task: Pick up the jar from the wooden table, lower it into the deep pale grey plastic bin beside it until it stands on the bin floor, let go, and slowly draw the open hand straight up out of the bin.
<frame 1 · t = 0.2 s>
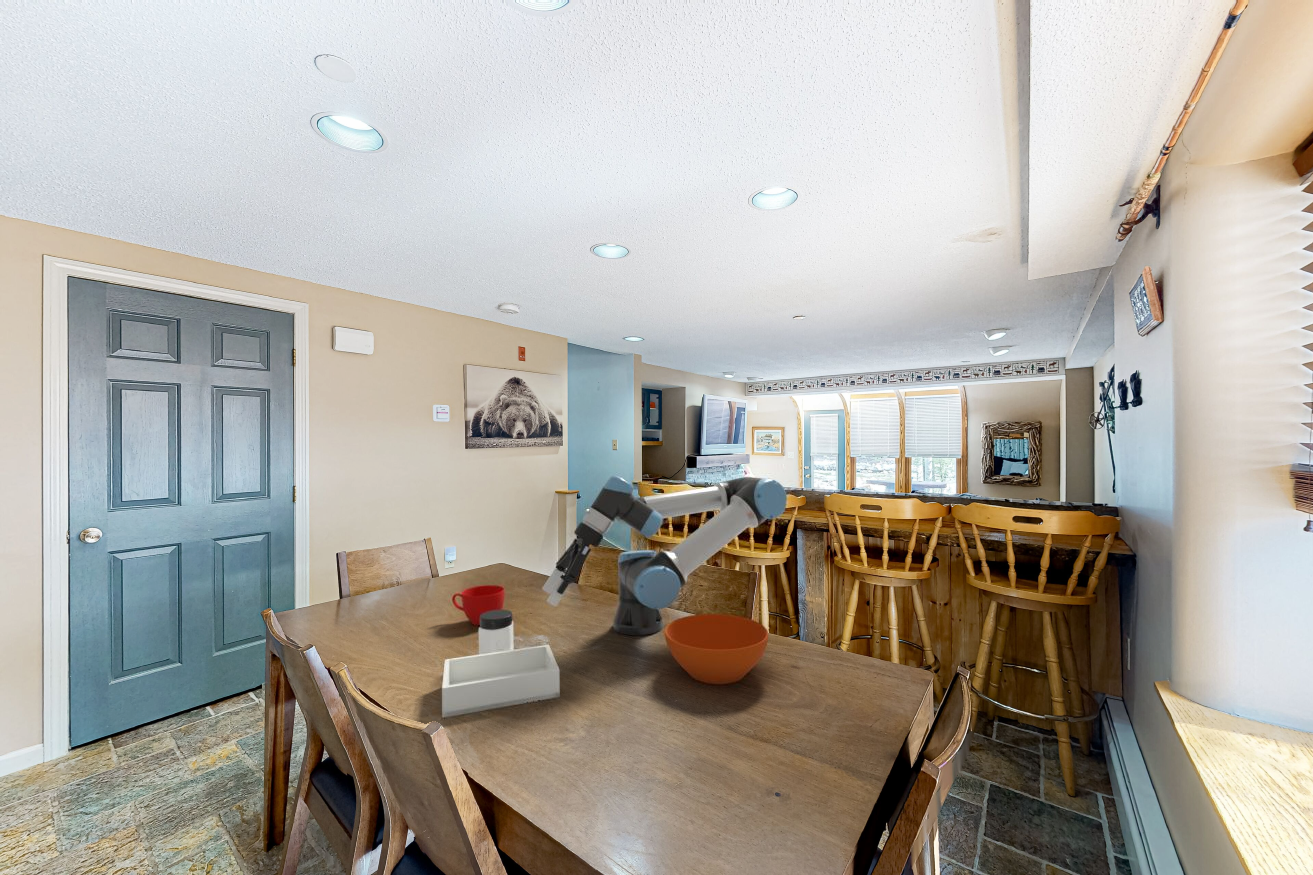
hand: (548, 597, 136), 16 cm above the table, tool tilted 35°, fingers open, 13 cm apart
bin: (500, 690, 117), on the table
ceramic cup: (477, 622, 165), on the table
jar: (496, 661, 134), on the table
bowl: (716, 672, 126), on the table
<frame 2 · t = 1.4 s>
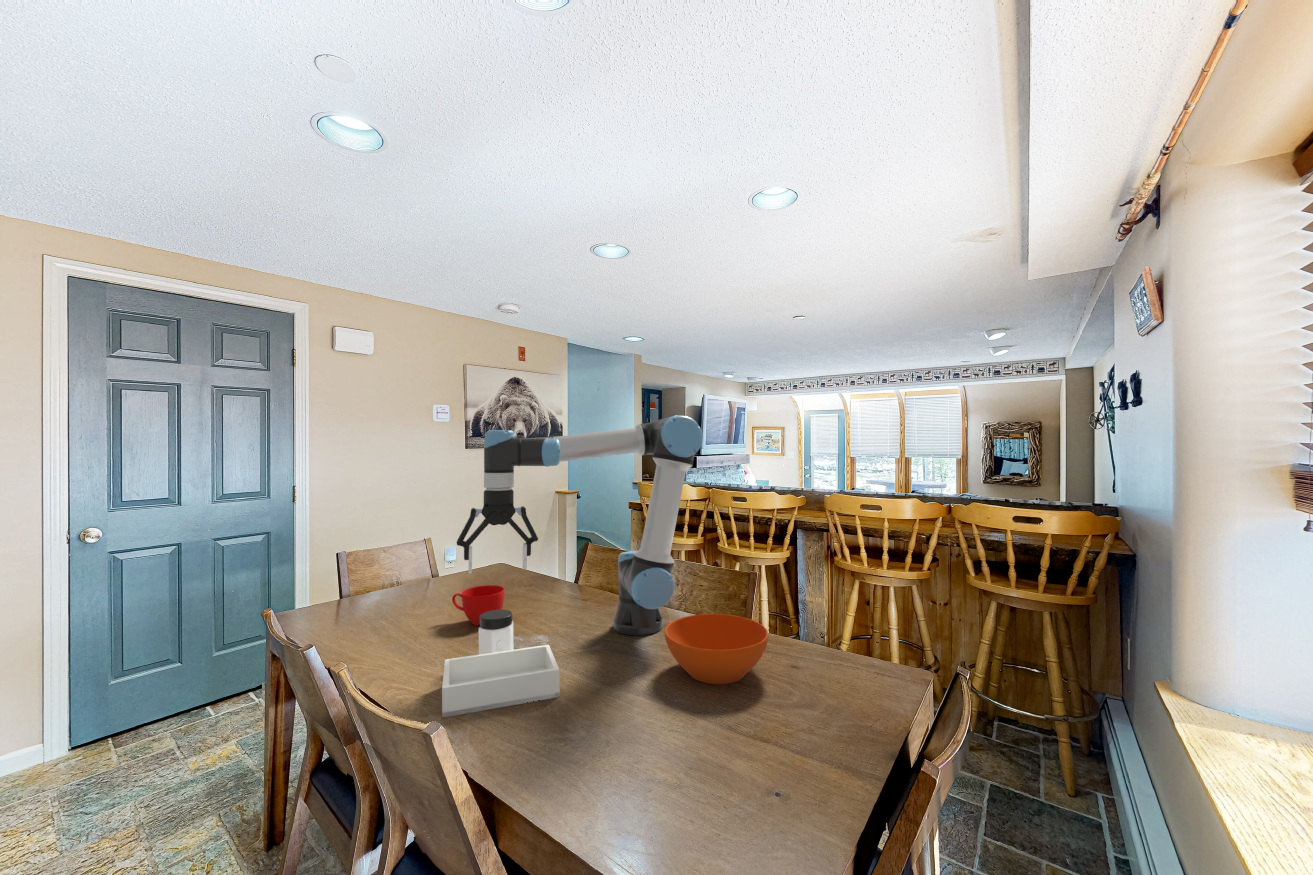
hand: (497, 570, 135), 23 cm above the table, tool pointing down, fingers open, 13 cm apart
nothing on the table moved.
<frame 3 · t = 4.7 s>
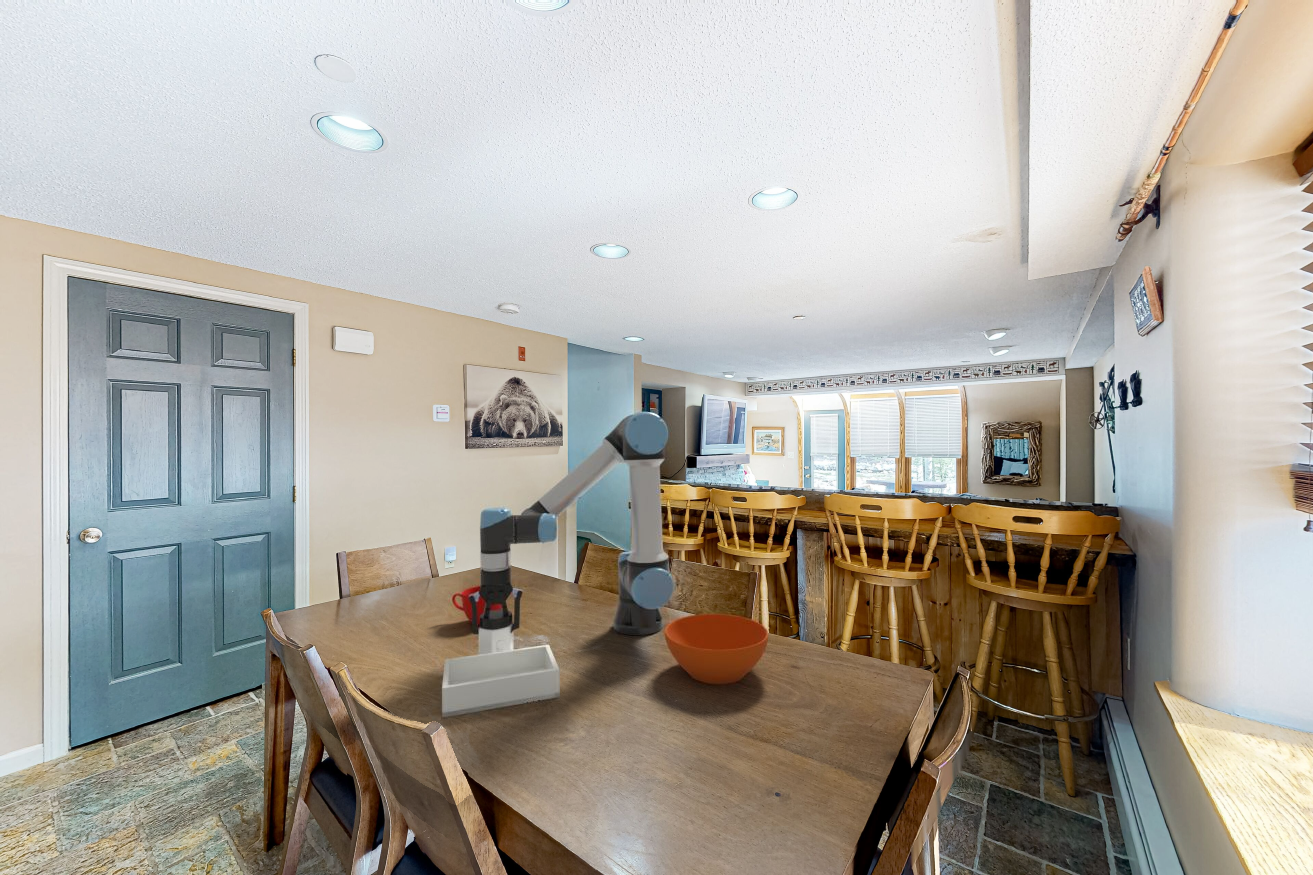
hand: (496, 657, 134), 1 cm above the table, tool pointing down, fingers closed on jar, 4 cm apart
jar: (496, 661, 134), on the table, touching gripper
everything else where it was.
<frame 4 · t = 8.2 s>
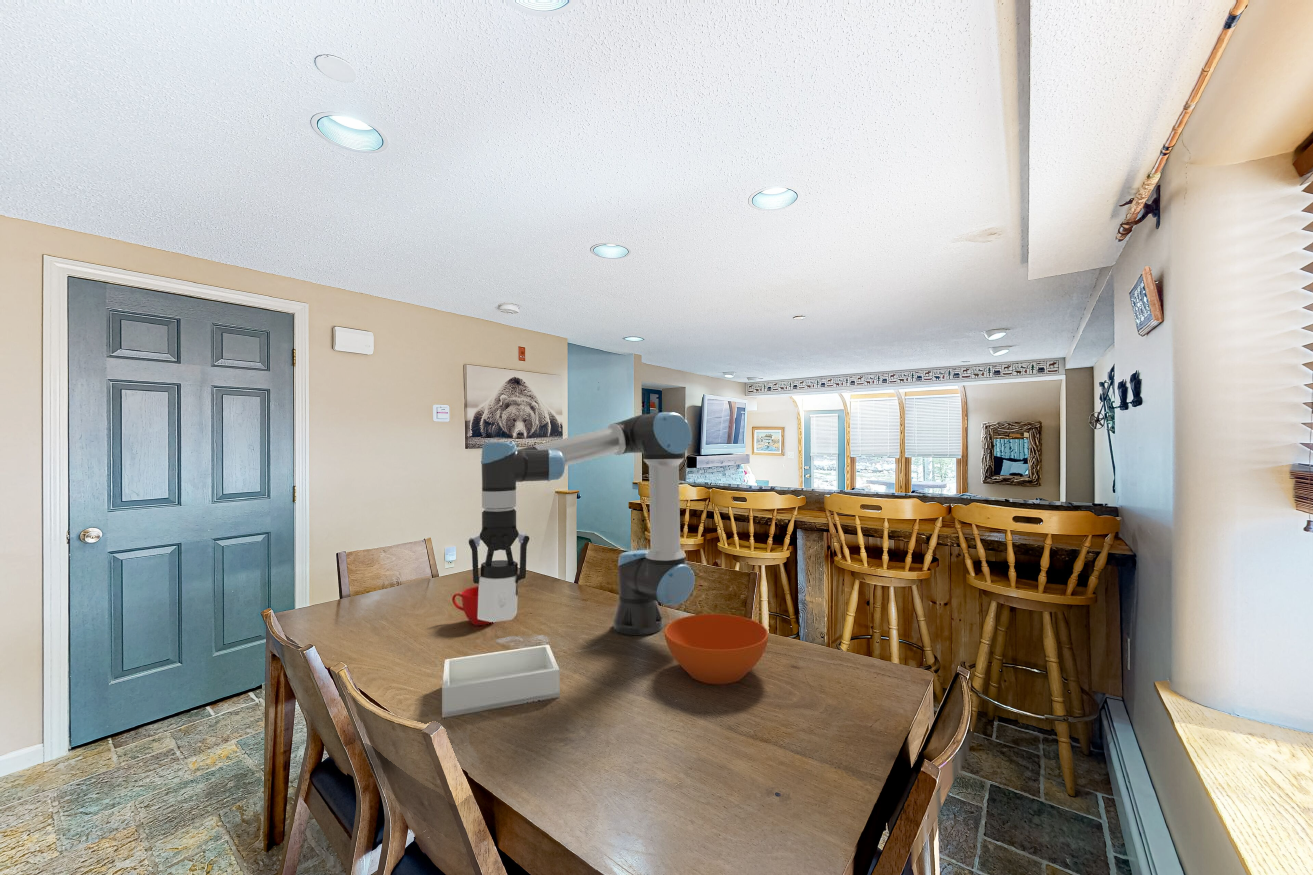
hand: (499, 611, 118), 18 cm above the table, tool pointing down, fingers closed on jar, 4 cm apart
jar: (497, 617, 117), point 17 cm above the table, touching gripper
everything else where it was.
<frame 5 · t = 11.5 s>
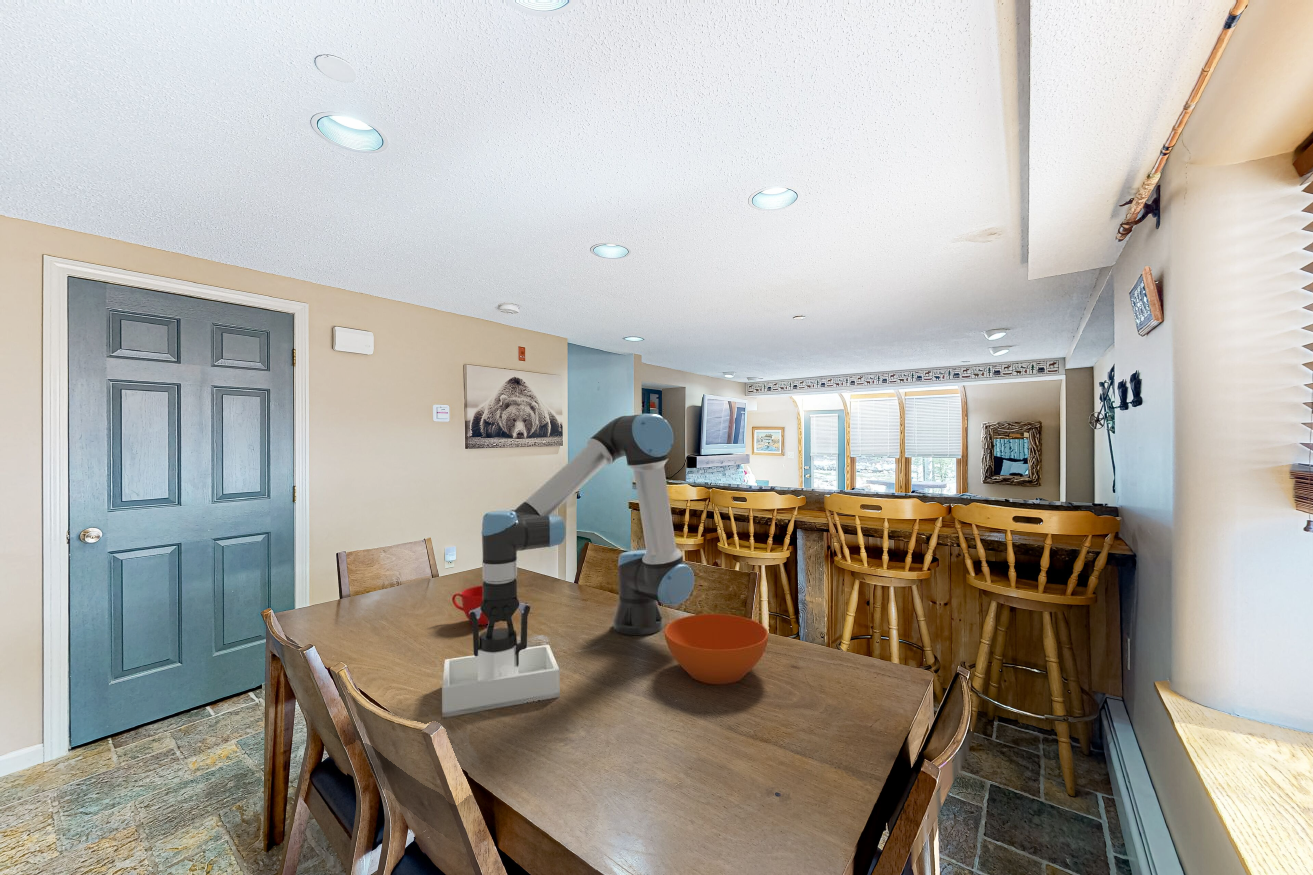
hand: (500, 682, 117), 2 cm above the table, tool pointing down, fingers open, 4 cm apart
jar: (498, 688, 117), point 1 cm above the table, touching bin, gripper
everything else where it was.
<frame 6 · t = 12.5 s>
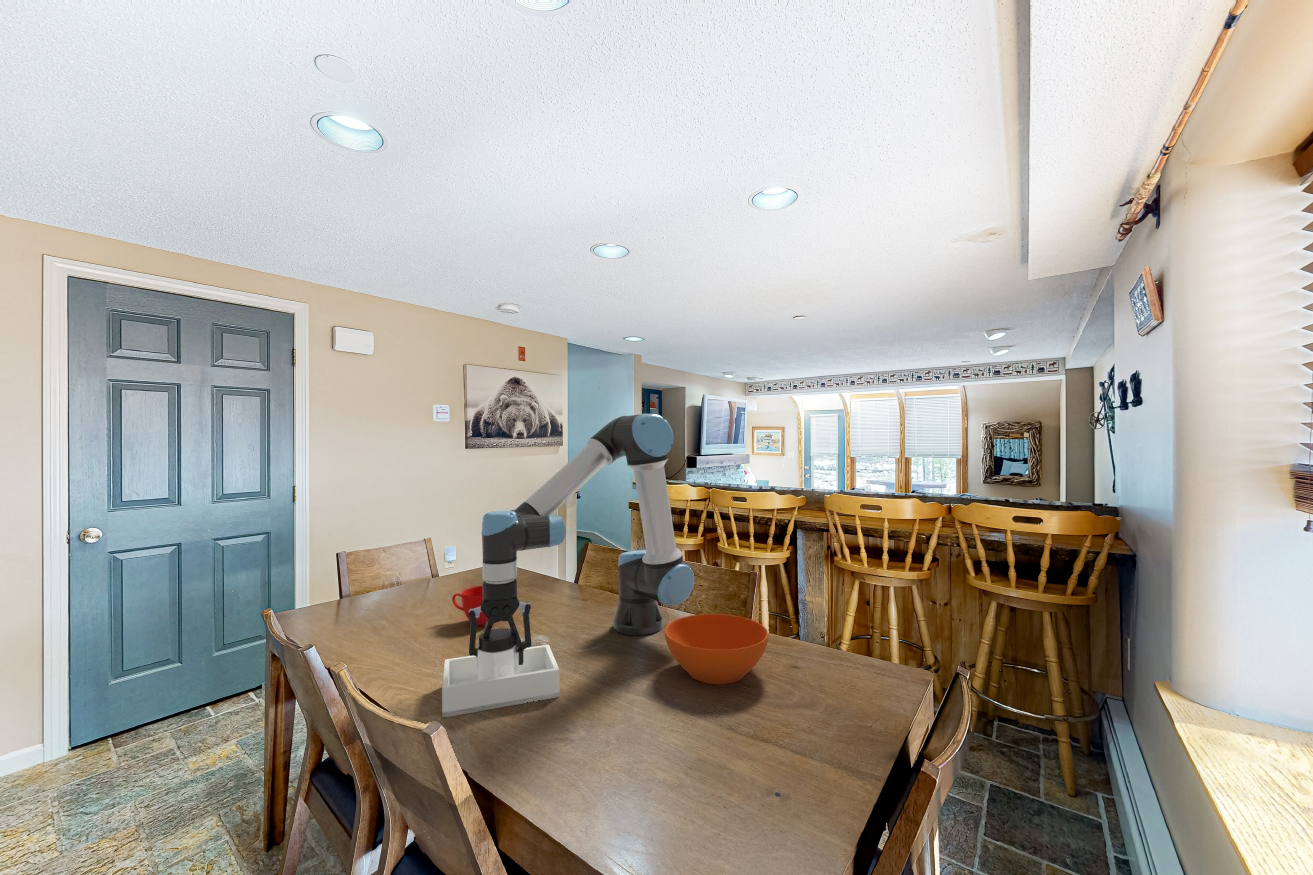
hand: (500, 681, 117), 2 cm above the table, tool pointing down, fingers open, 6 cm apart
jar: (498, 688, 117), point 1 cm above the table, touching bin
everything else where it was.
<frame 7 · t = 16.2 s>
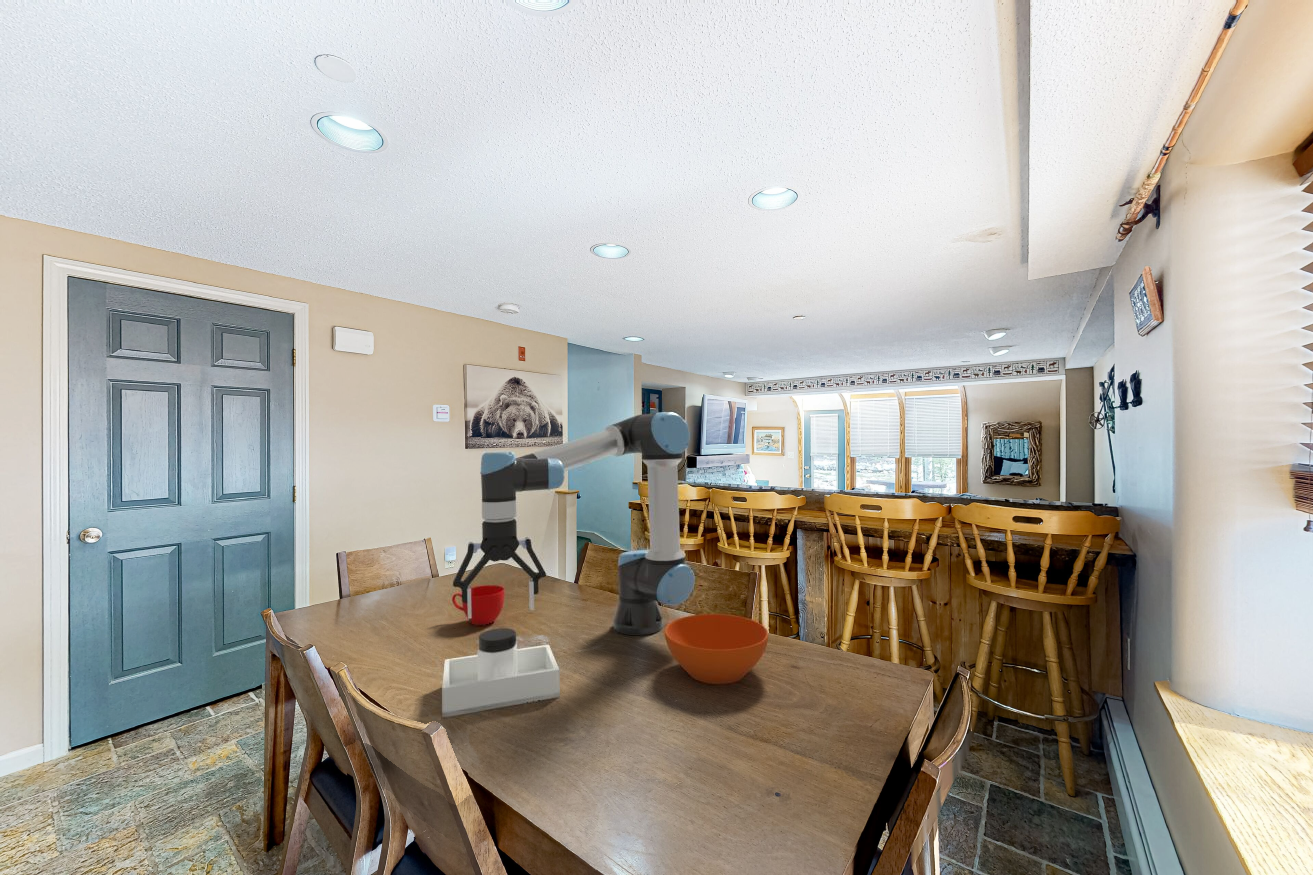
hand: (501, 612, 118), 18 cm above the table, tool pointing down, fingers open, 13 cm apart
nothing on the table moved.
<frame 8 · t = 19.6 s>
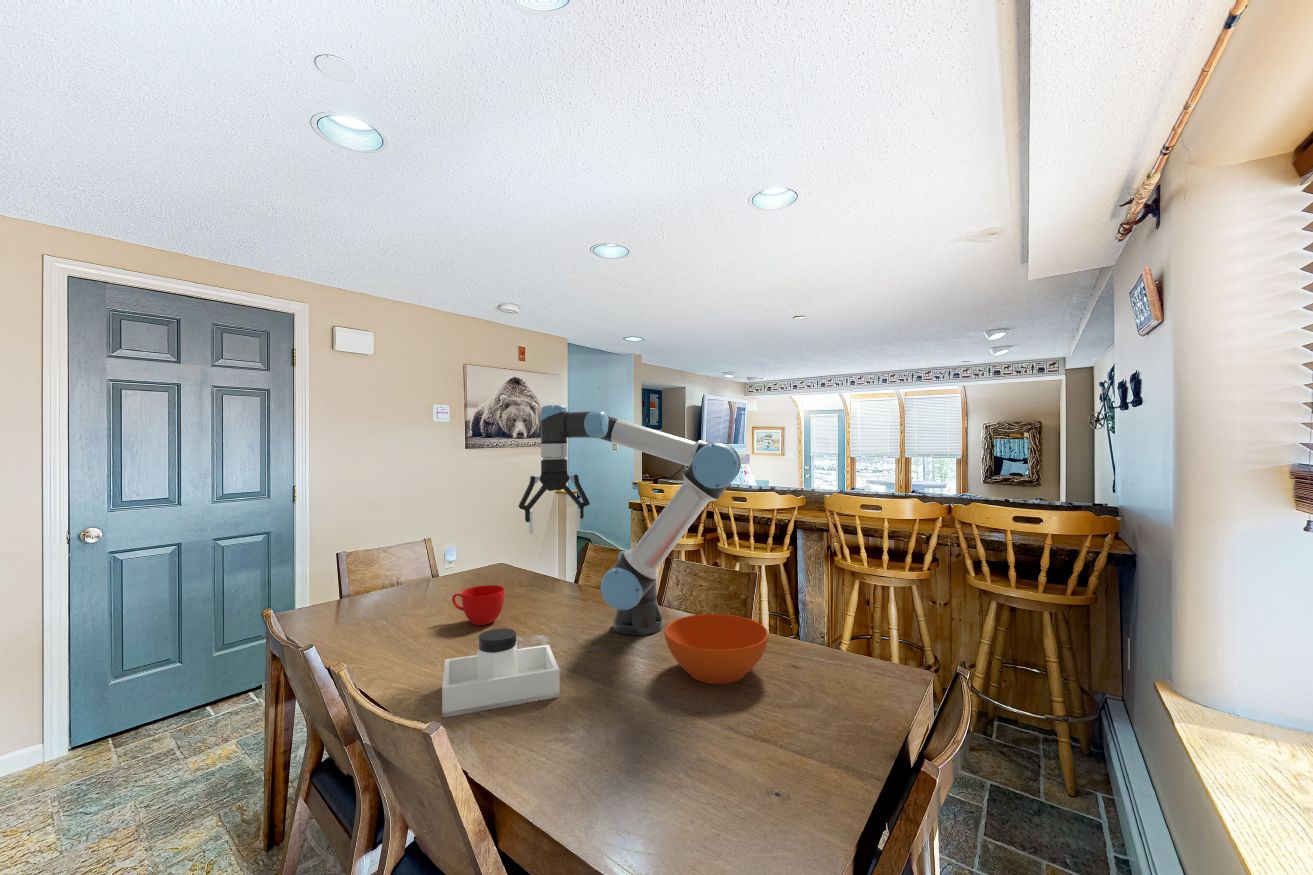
hand: (554, 531, 150), 31 cm above the table, tool pointing down, fingers open, 13 cm apart
nothing on the table moved.
at the end: jar inside the target area on the bin (0.7 cm from its centre), point 0.8 cm above the bin's base; jar tilted 0°; the gripper is holding nothing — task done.
